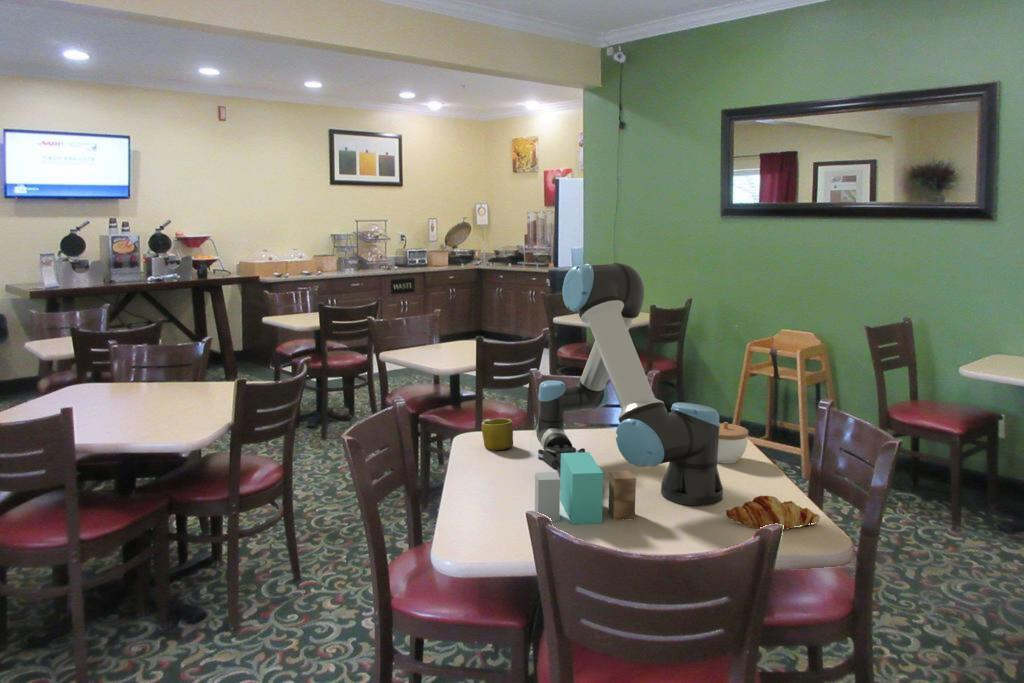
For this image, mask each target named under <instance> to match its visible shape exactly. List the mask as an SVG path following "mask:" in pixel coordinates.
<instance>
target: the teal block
mask: <svg viewBox="0 0 1024 683" xmlns="http://www.w3.org/2000/svg"><path fill="white" fill-rule="evenodd" d="M559 478H560V504H561V505H562V507H563V509H564V512H565V513H566V515H567V517H568V519H569V522H570V523H571V525H584V524H585V525H586V524H587V525H588V524H602V523H603V499H604V498H603V492H604V491H603V489H604V472H603V470H602V469H601V467H600V466H599V465H598V463H597V461H596V460H595V459H594V458H593V456H592V454H591V453H590V452H588V451H587V452H586V451H585V452H582V453H561V472H560V476H559Z"/></svg>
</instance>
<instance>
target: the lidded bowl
mask: <svg viewBox="0 0 1024 683" xmlns="http://www.w3.org/2000/svg"><path fill="white" fill-rule="evenodd" d="M719 425H720V427H719V442H718V458H717V464H725V465H729V464H734V463H737V462H738V460H740V459H741V458H742V457H743V456H744V454H745V452H746V451H747V450H746V449H747V445H748V439H749V438H748V437H749V430H748V429H747V428H746V427H745V426H744V427H743V426H741V425H738V424H734V423H729V422H726V421H724V422H723V423H721V422H719Z"/></svg>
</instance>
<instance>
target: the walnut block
mask: <svg viewBox="0 0 1024 683" xmlns="http://www.w3.org/2000/svg"><path fill="white" fill-rule="evenodd" d="M608 474H609V477H608V479H609V480H608V507H607V508H608V510H607V512H608V514H609V515H610V517H611V519H612V521H628V519H632V520H635V517H636V488H637V486H636V485H637V477H636V476H635V475H634V473H632V471H631V470H618V471H609V472H608ZM623 519H624V520H623ZM625 519H627V520H625Z"/></svg>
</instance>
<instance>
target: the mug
mask: <svg viewBox="0 0 1024 683" xmlns="http://www.w3.org/2000/svg"><path fill="white" fill-rule="evenodd" d="M481 432H482V439H483V443H484V444H483V445H484V447H485V448H486V449H487V450H489V451H493V450H494V451H503V450H508V449H510V448H512V447H513V446H514V422H513V420H512V419H511V418H493V419H489V418H486V419H484V420H483V421H482V422H481ZM494 451H493V452H494Z"/></svg>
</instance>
